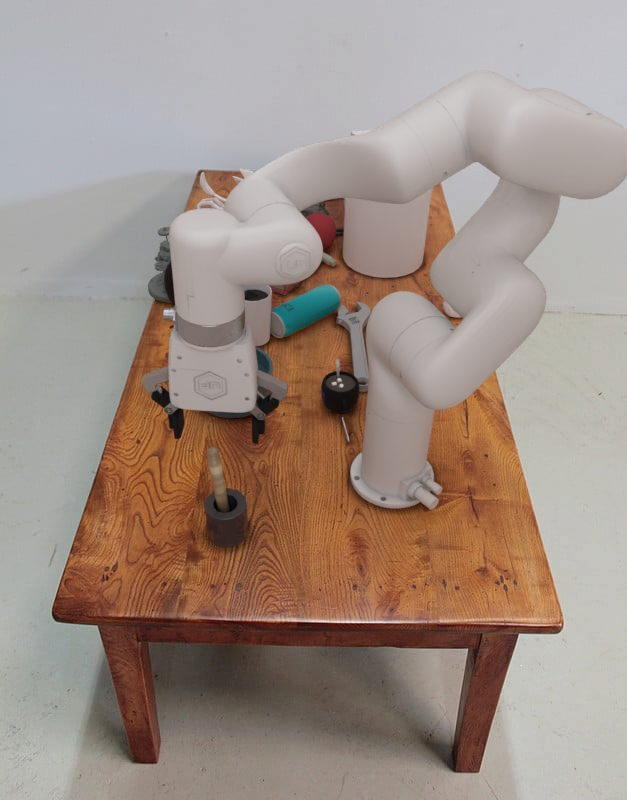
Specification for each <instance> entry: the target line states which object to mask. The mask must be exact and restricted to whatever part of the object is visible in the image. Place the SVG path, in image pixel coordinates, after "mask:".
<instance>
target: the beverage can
mask: <svg viewBox="0 0 627 800" xmlns="http://www.w3.org/2000/svg"><path fill="white" fill-rule="evenodd" d="M341 304H342V295H341V293H340V291H339V289H338V288H337V287H336V286H334V285H332V284H321V285H318V286H317V287H314V288H312V289H311V290H308V291H306V292H304V293H302V294H300V295H298V296H296V297H294V298H291V299H290V300H288V301H286V302H283V303H281V304H280V305H277V306H275V307H273V308H271V326H270V335H272V336H273V337H275V338H276V339H282V338H284V337H289V336H292V335H293V334H295V333H297V332H299V331H301V330H304V329H306V328H307V327H309V326H310V325H313V324H314V323H317V322H319V321H320V320H322V319H324V318H326V317H328V316H330V315H332V314H334V313H335V312H336V311H338V310H339V308H340V307H341Z"/></svg>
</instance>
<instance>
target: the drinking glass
mask: <svg viewBox="0 0 627 800" xmlns="http://www.w3.org/2000/svg"><path fill="white" fill-rule="evenodd" d="M244 294H245V323H248V324H249V326H250V328H251V331H252V335H253V339H254V343H255V347H260V346H264V345H266V344H267V343H268V342H269V341H270V339H271V332H270V326H271V311H272V299H273V297H272V296H273V295H272V294H273V291H271V288H270V287H269V286H268V285H244Z"/></svg>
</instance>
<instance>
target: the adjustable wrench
mask: <svg viewBox="0 0 627 800" xmlns="http://www.w3.org/2000/svg"><path fill="white" fill-rule="evenodd" d="M355 308H356V310H357V311H356V312H352V313H350V311H349V310H348V308H347V307H346V306H345V305H344V304H342V305H340V306H339V307H338V309H337V316H336V322H335V323H336V324H337V325H340V326H342V327H343V328H344V329H346V330H347V331H348V333H349V337H350V349H351V350H350V351H351V361H352V363H351V364H352V373H353V375H354V376H355V377H356V378H357V380H358V381H359V393H366V392H368V382H369V366H368V357H367V351H366V346H365V340H364V334H363V333H364V332H363V330H364V329H365V326H367V322H368V319H369V316H370V314H371V312H372V310H371V307H370V306H368V305H367V304H366V303H364V302H361V301H356V305H355Z"/></svg>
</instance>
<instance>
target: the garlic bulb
mask: <svg viewBox="0 0 627 800" xmlns="http://www.w3.org/2000/svg"><path fill="white" fill-rule="evenodd" d="M442 310H443V312H444V313H445V314H446V315H447V316H448V317H451V318H455V319H456V318H457V319H461V318H462V317H461V316H460V315H459V314H458V313H457V312H456V311H455V310H454V309H453V308H452V307H451V306H450V305H449V304H448V303H447V302H446V301H445V300H444V299H443V301H442Z"/></svg>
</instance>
